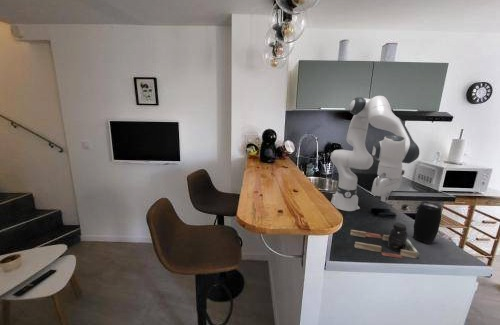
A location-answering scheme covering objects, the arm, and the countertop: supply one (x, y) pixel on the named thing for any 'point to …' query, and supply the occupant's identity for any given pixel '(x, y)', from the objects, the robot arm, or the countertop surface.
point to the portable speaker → (427, 222)
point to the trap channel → (412, 253)
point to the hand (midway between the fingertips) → (384, 200)
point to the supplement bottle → (397, 237)
